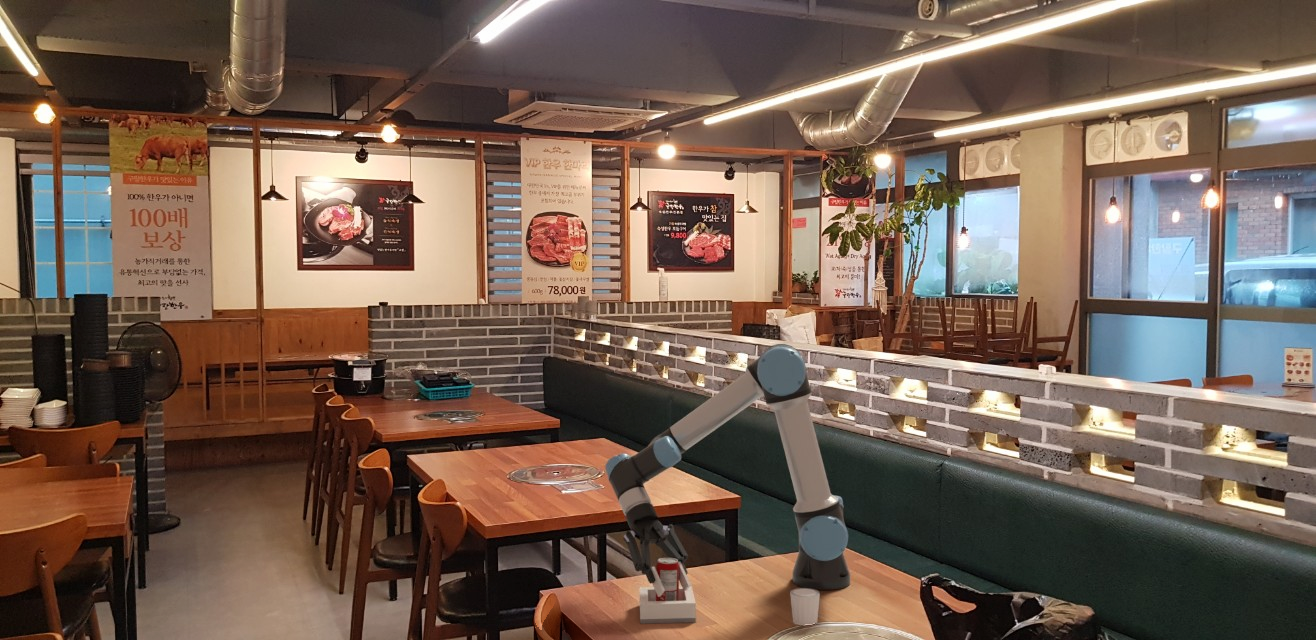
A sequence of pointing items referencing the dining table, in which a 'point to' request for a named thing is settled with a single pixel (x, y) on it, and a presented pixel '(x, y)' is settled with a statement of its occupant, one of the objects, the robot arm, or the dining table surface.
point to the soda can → (668, 578)
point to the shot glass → (804, 605)
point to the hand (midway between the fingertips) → (674, 590)
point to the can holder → (666, 607)
